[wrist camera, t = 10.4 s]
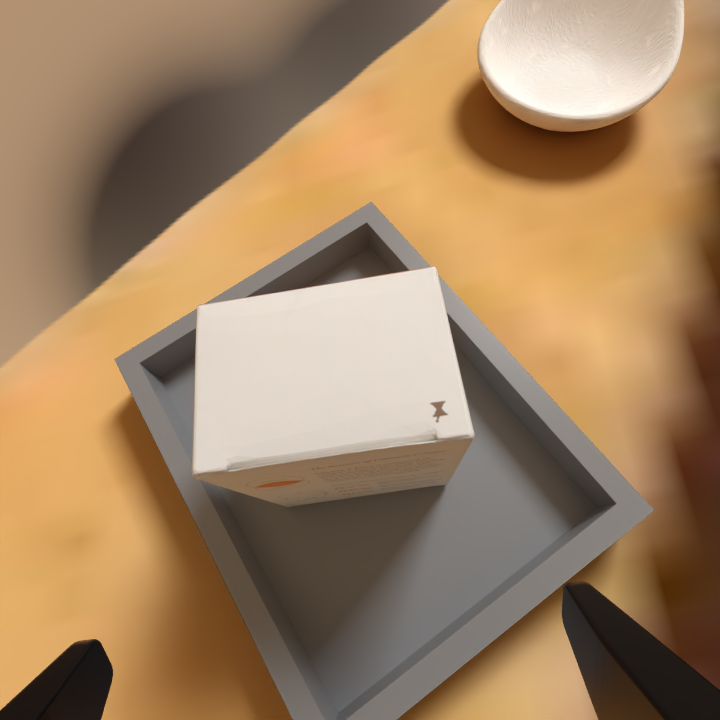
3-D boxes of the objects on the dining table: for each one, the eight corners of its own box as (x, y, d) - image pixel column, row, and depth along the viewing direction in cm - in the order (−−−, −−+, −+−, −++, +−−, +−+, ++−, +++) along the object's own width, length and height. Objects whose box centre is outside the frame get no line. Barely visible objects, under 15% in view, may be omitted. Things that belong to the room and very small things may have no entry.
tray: (622, 515, 21) (654, 510, 19) (334, 746, 19) (322, 779, 16) (374, 235, 29) (371, 201, 26) (145, 379, 26) (114, 359, 24)
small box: (428, 377, 24) (443, 259, 14) (450, 487, 22) (483, 437, 12) (277, 399, 24) (190, 299, 15) (283, 510, 22) (185, 478, 12)
